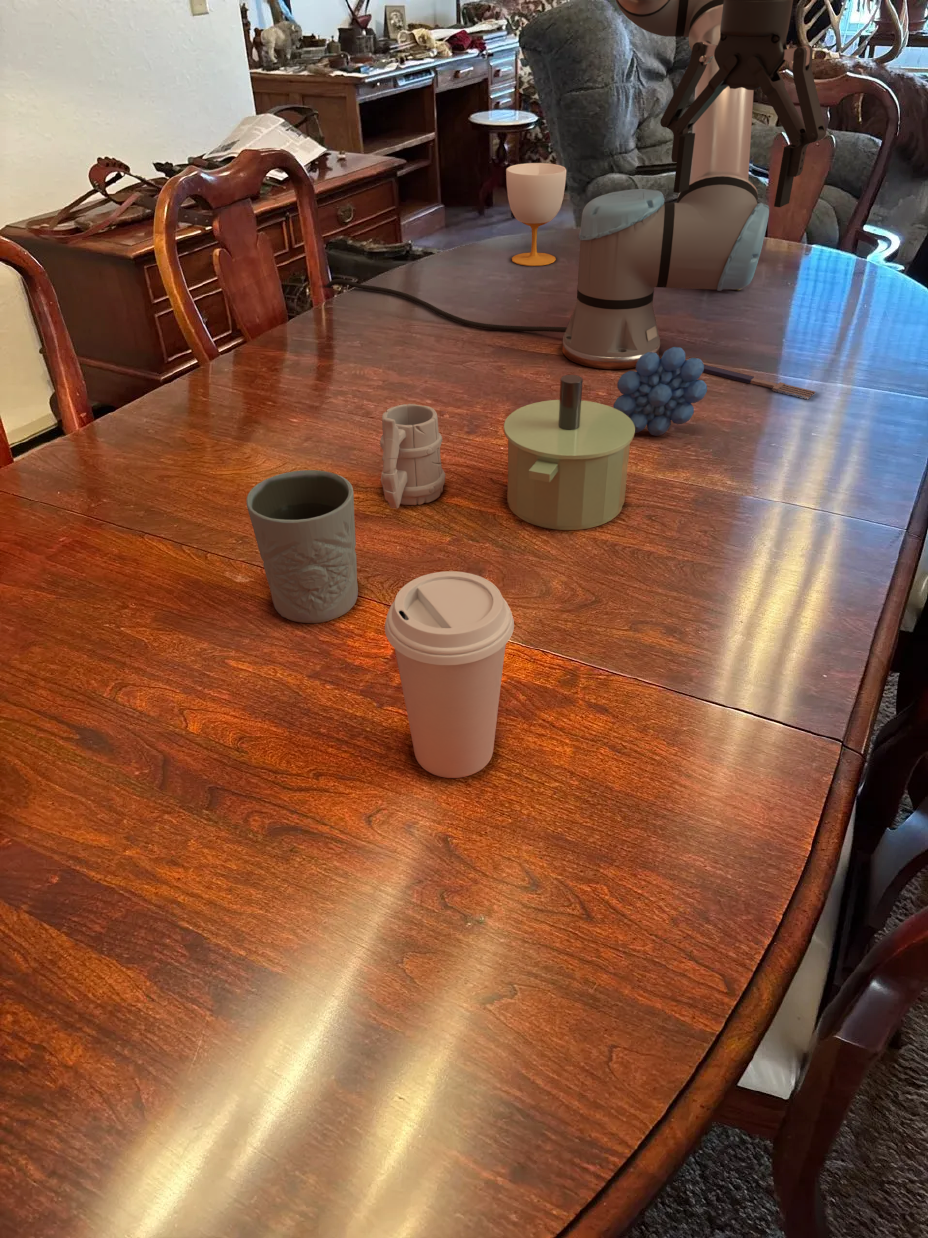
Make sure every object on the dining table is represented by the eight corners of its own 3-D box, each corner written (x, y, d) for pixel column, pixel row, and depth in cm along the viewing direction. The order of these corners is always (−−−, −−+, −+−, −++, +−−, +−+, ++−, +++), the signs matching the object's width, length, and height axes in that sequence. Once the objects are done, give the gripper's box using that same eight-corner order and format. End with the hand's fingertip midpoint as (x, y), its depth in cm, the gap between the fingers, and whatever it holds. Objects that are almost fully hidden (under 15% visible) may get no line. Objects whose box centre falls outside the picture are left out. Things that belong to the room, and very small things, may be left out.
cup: (501, 267, 185) (502, 174, 175) (508, 251, 194) (509, 162, 184) (559, 268, 183) (564, 175, 173) (564, 252, 192) (568, 163, 182)
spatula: (674, 366, 141) (674, 362, 141) (682, 361, 143) (682, 357, 143) (807, 399, 130) (808, 395, 130) (815, 393, 132) (816, 389, 132)
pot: (480, 527, 104) (479, 455, 99) (538, 456, 118) (541, 389, 112) (596, 552, 99) (602, 477, 94) (642, 475, 113) (650, 406, 108)
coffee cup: (394, 714, 79) (381, 569, 70) (504, 706, 80) (506, 561, 71) (397, 797, 72) (383, 646, 63) (519, 788, 72) (522, 636, 63)
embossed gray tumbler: (321, 639, 88) (306, 531, 81) (242, 608, 92) (221, 502, 85) (383, 587, 95) (375, 483, 88) (308, 560, 99) (293, 459, 92)
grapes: (698, 423, 125) (710, 336, 118) (701, 445, 120) (714, 355, 112) (611, 419, 126) (618, 333, 119) (610, 441, 121) (618, 352, 114)
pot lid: (483, 450, 101) (483, 393, 97) (530, 400, 111) (532, 347, 107) (612, 474, 96) (617, 415, 92) (648, 419, 106) (655, 364, 103)
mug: (453, 480, 113) (451, 387, 106) (421, 528, 104) (416, 430, 97) (395, 472, 115) (389, 380, 108) (359, 518, 106) (349, 422, 99)
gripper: (883, -8, 99) (839, 204, 111) (675, -11, 111) (656, 180, 124) (858, -4, 94) (814, 217, 107) (644, -8, 107) (627, 190, 119)
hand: (729, 197), depth 115 cm, fingers open, 13 cm apart
